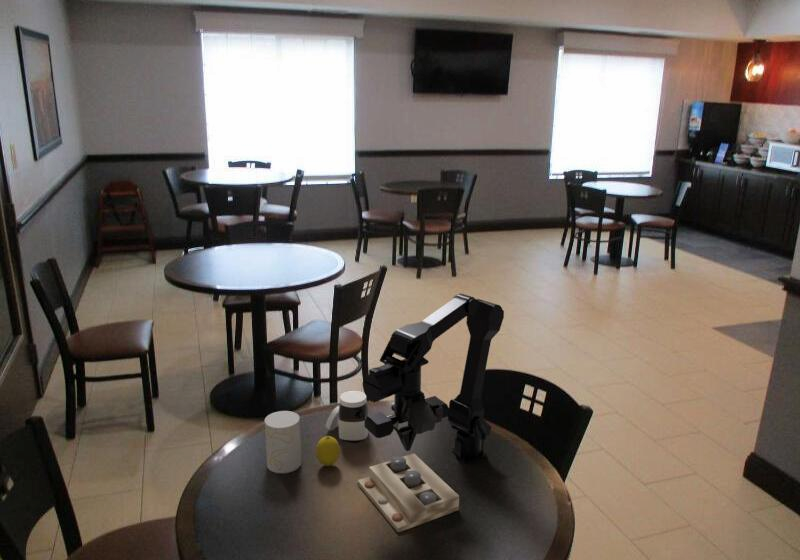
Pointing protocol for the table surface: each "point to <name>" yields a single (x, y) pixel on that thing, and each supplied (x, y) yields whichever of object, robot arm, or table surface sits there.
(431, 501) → the button
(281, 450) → the white cylinder
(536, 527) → the table surface
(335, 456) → the lemon
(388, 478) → the button board
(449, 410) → the robot arm
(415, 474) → the button middle
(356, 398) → the spread jar
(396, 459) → the button
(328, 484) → the table surface
